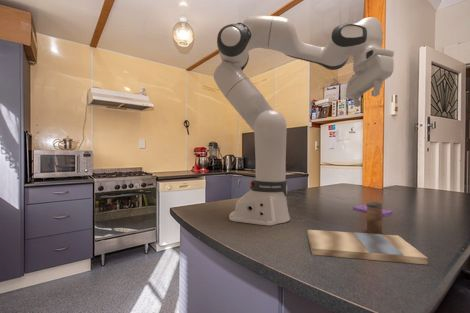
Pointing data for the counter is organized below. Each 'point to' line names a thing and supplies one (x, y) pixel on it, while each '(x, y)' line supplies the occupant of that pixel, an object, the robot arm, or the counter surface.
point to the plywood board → (364, 246)
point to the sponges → (364, 209)
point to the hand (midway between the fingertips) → (365, 101)
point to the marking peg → (374, 218)
